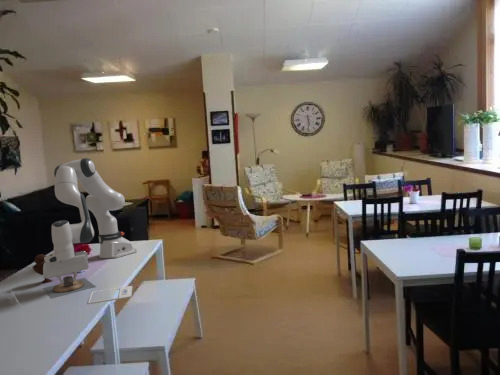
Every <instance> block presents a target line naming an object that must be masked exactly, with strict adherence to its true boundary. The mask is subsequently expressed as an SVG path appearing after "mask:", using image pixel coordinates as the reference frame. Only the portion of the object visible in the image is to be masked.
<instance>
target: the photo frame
mask: <svg viewBox="0 0 500 375" xmlns="http://www.w3.org/2000/svg"><path fill="white" fill-rule="evenodd" d="M115 289H117V290H118V287H115V288H113V290H115ZM110 290H111V288H108V289H106V291H110ZM103 291H105V289H102V290H99V292H103ZM97 292H98V290H94V291H92V292H91V294H90V297H89V300H88V302H87V304H88V305H90V304H89V303H91V304H98V303H103V302H110V301H116V300H121V299H122V300H123V299H128V298H132V294H133V293H132V292H133V285H128V286H122V287H119V294H118V297H115V298H108V299H101V300H94V301H91V300H92V298H93V294H94V293H97Z"/></svg>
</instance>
